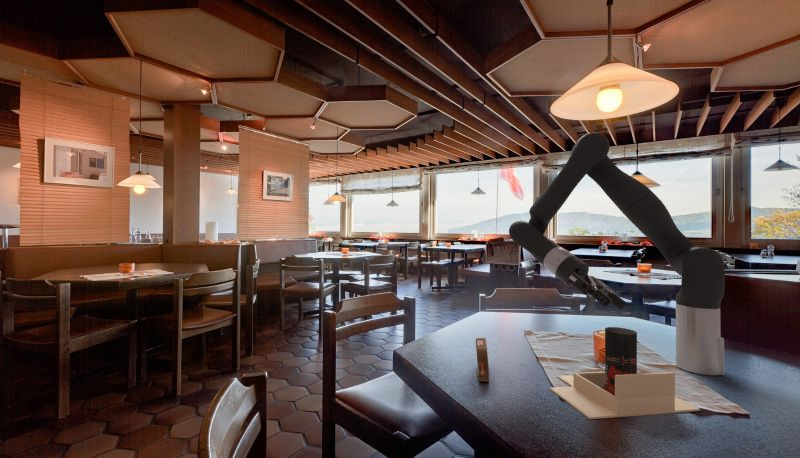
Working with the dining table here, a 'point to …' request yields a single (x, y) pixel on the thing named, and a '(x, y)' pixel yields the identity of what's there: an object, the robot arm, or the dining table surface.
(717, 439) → the dining table surface
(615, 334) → the deodorant
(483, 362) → the thin brown box
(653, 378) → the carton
